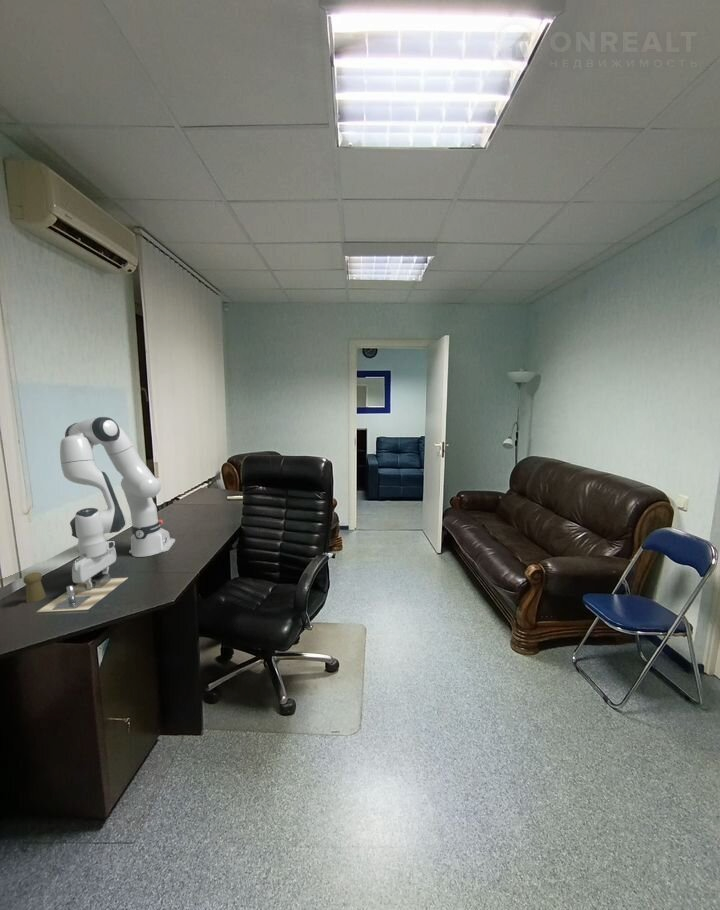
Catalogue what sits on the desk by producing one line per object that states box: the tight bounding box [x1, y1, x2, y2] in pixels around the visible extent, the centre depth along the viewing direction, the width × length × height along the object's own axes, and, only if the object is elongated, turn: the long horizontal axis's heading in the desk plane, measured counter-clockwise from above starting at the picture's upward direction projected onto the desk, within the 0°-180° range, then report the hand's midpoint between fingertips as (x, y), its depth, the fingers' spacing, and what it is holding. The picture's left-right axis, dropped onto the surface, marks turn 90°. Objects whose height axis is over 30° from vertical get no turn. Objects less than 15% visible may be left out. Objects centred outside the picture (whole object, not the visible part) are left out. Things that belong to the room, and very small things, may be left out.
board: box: [35, 577, 128, 616], centre depth 143 cm, size 24×18×1 cm
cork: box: [23, 571, 47, 604], centre depth 140 cm, size 6×6×11 cm
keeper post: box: [53, 584, 91, 610], centre depth 135 cm, size 8×8×6 cm
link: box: [85, 573, 111, 589], centre depth 149 cm, size 6×6×3 cm
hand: (97, 582), depth 149 cm, fingers open, 7 cm apart
